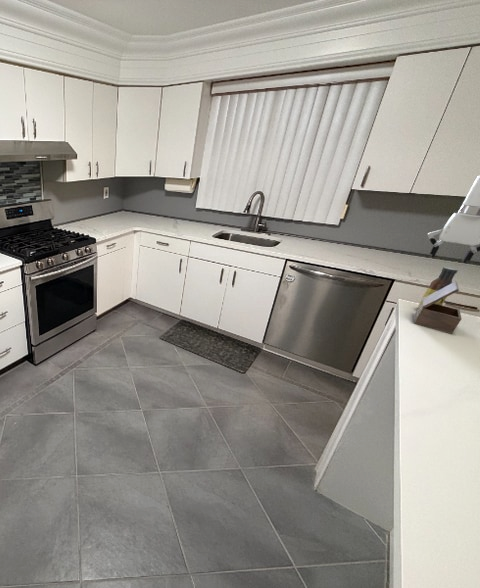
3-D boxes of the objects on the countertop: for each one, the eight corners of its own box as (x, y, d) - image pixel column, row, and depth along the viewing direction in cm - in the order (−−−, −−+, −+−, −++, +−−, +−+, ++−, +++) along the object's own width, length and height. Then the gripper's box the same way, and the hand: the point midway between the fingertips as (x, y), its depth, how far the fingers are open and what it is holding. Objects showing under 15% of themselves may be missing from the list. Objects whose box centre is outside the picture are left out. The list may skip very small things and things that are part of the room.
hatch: (457, 282, 118) (455, 281, 118) (459, 290, 111) (457, 289, 112) (424, 300, 126) (422, 298, 126) (424, 308, 119) (422, 306, 119)
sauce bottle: (437, 317, 128) (463, 272, 119) (416, 312, 131) (440, 268, 123) (435, 311, 132) (461, 268, 123) (415, 306, 136) (439, 264, 127)
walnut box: (450, 324, 123) (459, 309, 120) (451, 334, 116) (461, 318, 113) (414, 314, 129) (422, 300, 126) (414, 323, 122) (422, 308, 120)
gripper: (512, 214, 104) (481, 263, 112) (439, 206, 115) (415, 251, 122) (516, 217, 99) (484, 268, 107) (439, 208, 110) (415, 255, 118)
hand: (447, 259), depth 115 cm, fingers open, 7 cm apart
